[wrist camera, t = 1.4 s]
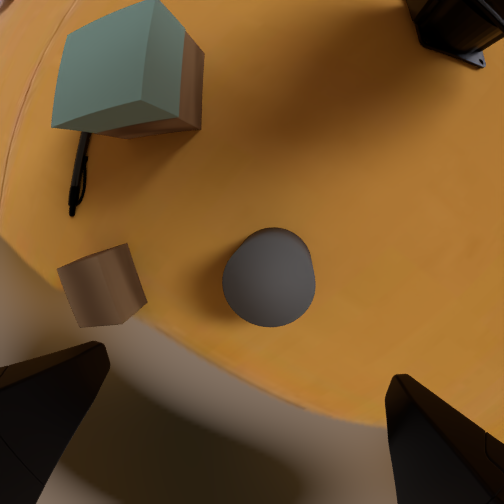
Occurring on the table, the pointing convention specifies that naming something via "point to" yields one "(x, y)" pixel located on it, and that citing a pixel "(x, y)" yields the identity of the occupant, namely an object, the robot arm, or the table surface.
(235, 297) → the stone
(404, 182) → the table surface
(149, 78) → the tower top
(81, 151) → the pen
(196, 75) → the tower base
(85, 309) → the block
